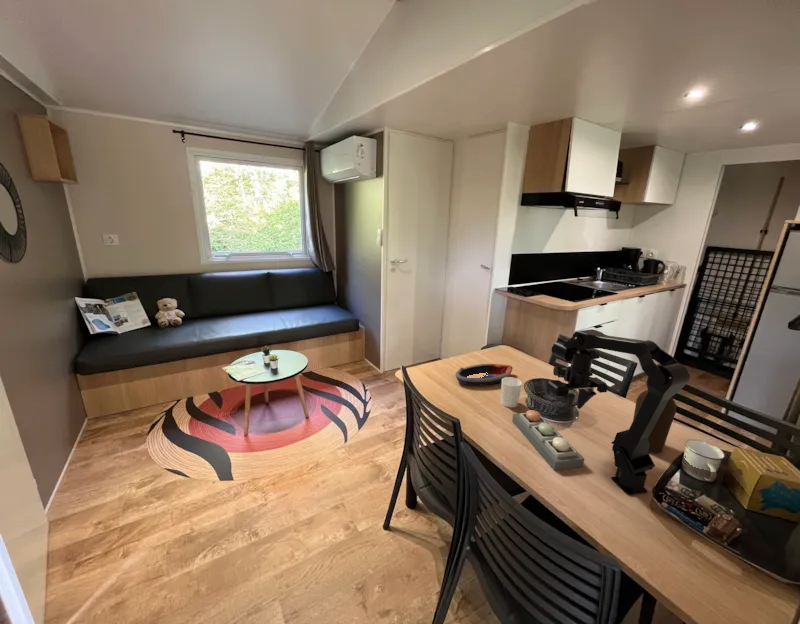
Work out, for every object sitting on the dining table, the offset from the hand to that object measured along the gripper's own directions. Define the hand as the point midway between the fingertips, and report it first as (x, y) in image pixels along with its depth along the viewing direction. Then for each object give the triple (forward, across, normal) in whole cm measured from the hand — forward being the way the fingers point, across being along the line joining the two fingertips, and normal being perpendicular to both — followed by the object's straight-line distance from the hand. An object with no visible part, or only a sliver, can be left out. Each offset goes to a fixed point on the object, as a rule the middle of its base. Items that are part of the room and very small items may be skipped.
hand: (573, 408), depth 116 cm
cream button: (+8, +9, +8) cm, 14 cm away
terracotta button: (+8, +9, -8) cm, 14 cm away
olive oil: (+12, -25, +7) cm, 29 cm away
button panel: (+12, +9, 0) cm, 15 cm away
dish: (+12, +10, -47) cm, 50 cm away
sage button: (+8, +9, 0) cm, 12 cm away
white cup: (+12, +9, -25) cm, 29 cm away
